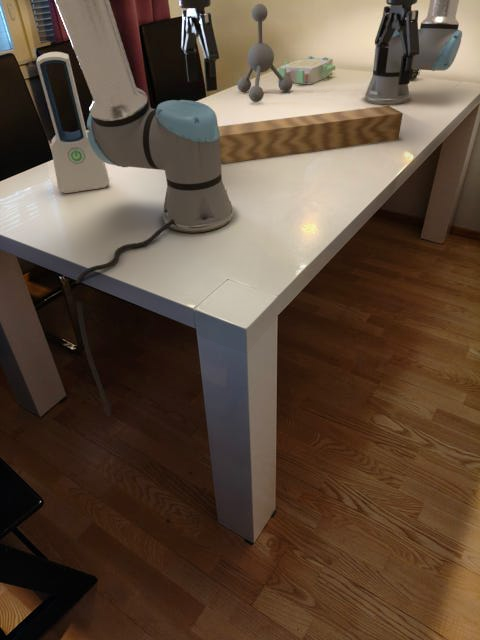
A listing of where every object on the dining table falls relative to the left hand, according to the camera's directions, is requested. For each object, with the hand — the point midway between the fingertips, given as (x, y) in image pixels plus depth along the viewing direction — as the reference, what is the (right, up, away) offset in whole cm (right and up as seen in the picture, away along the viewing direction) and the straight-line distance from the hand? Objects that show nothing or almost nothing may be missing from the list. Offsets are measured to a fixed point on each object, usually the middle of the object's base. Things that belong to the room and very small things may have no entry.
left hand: (202, 85), depth 127 cm
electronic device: (-30, -27, -2) cm, 40 cm away
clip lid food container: (+38, +42, +81) cm, 99 cm away
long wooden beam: (+23, -12, +12) cm, 29 cm away
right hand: (+52, +5, +6) cm, 52 cm away
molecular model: (+20, +26, +62) cm, 70 cm away
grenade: (+79, +36, +70) cm, 112 cm away
